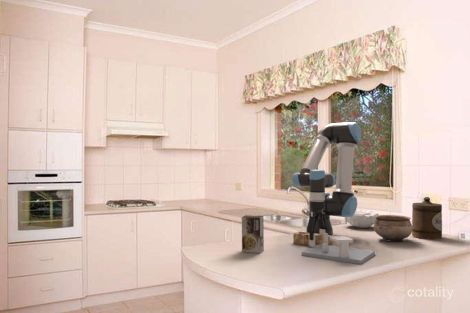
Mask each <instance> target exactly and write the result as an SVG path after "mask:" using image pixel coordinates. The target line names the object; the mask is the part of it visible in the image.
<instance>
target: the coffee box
mask: <svg viewBox="0 0 470 313" xmlns="http://www.w3.org/2000/svg"><path fill="white" fill-rule="evenodd" d="M264 226H265V225H264V215H251V214H250V215H249V214H247V215H246V214H245V215H244V216H241V253H242V252H243V253H256V254H257V253H258V254H261V253H263V252H264V251H265V244H264V243H265V242H264V240H265V239H264V234H265V233H264V232H265V231H264Z"/></svg>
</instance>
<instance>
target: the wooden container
mask: <svg viewBox="0 0 470 313" xmlns="http://www.w3.org/2000/svg"><path fill="white" fill-rule="evenodd" d="M411 206H412V210H411V211H412V216H411V224H412V228H413V230H412V233H411V236H412V237H413V238H417V239H422V240H440V239H442V238H443V212H442V211H443V205H442V203H441V204H440V203H436V202H435V203H434V202H432V201H431V198H430V197H429V196H425V197H423V201H422V202H413V203H412V205H411Z"/></svg>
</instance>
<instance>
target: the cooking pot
mask: <svg viewBox="0 0 470 313" xmlns="http://www.w3.org/2000/svg"><path fill="white" fill-rule="evenodd" d="M375 217H376V220H375V223H374V224H373V230H374V232H375V233H376V234H377V235H378V236H379V237H381V238H382V239H384V240H385V241H387V242H396V243H397V242H401V241H402V240H405V239H407V238H408V237H410V236H411V235H412V230H413V228H412V221H411V220H412V217H410V216H405V215H396V214H379V215H377V216H375Z"/></svg>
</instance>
